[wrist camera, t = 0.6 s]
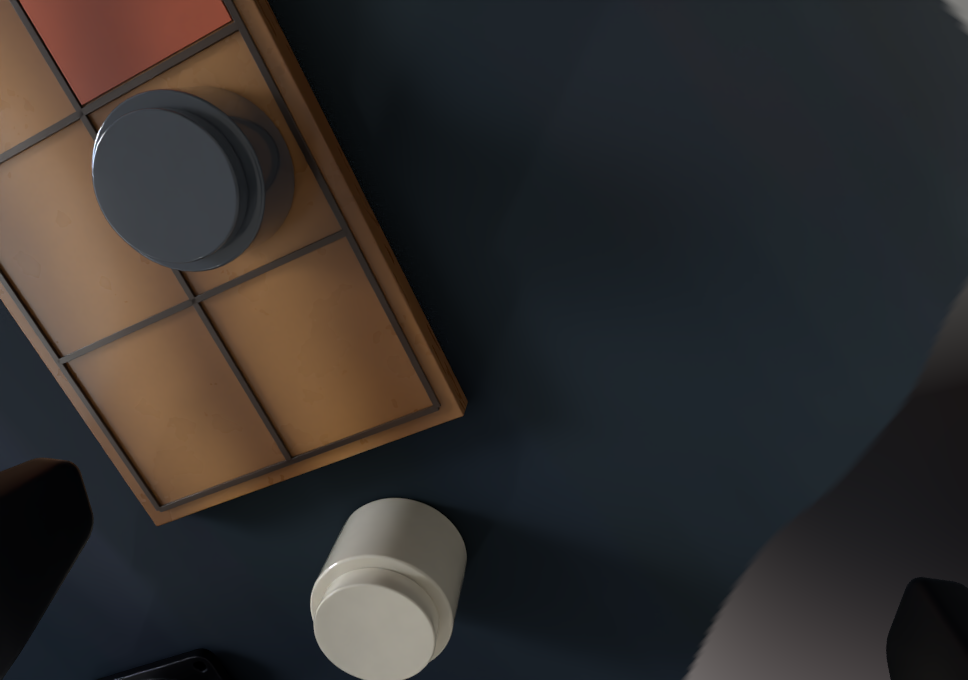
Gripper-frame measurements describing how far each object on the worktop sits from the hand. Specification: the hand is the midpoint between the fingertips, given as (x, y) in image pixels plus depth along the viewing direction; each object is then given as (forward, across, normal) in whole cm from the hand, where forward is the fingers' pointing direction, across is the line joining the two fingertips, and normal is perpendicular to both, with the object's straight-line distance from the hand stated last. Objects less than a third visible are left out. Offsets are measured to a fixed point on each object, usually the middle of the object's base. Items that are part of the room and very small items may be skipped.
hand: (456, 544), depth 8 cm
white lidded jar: (+13, +5, +13) cm, 19 cm away
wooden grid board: (+14, +12, +1) cm, 18 cm away
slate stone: (+13, +10, 0) cm, 16 cm away
